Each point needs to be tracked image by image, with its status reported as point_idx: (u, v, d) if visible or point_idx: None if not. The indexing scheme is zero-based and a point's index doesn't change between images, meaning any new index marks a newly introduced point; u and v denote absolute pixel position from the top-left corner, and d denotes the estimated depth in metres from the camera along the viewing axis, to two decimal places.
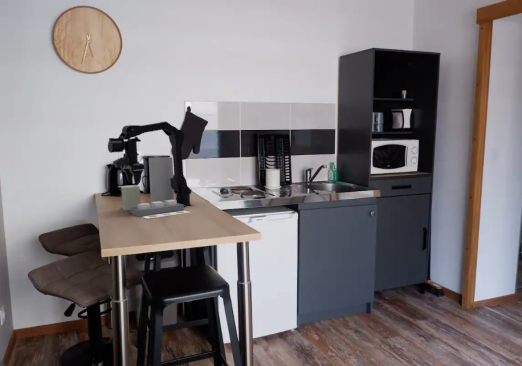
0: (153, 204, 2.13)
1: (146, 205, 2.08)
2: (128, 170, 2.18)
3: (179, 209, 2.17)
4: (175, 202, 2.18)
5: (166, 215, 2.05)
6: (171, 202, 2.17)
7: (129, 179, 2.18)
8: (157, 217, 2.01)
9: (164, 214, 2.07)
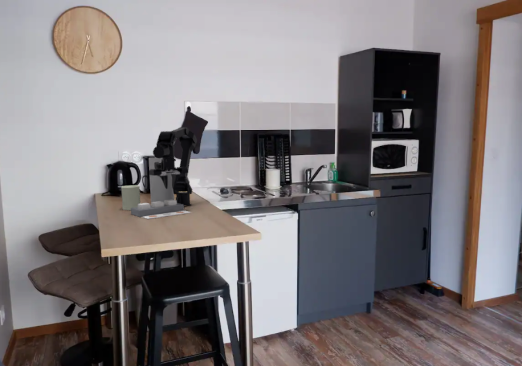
0: (153, 204, 2.13)
1: (146, 205, 2.08)
2: (173, 175, 2.19)
3: (179, 209, 2.17)
4: (175, 202, 2.18)
5: (166, 215, 2.05)
6: (171, 202, 2.17)
7: (172, 184, 2.19)
8: (157, 217, 2.01)
9: (164, 214, 2.07)
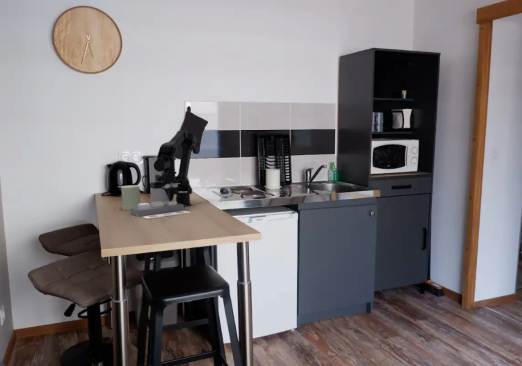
0: (153, 204, 2.13)
1: (146, 205, 2.08)
2: (170, 188, 2.19)
3: (179, 209, 2.17)
4: (175, 203, 2.18)
5: (166, 215, 2.05)
6: (171, 203, 2.17)
7: None
8: (157, 217, 2.01)
9: (164, 214, 2.07)
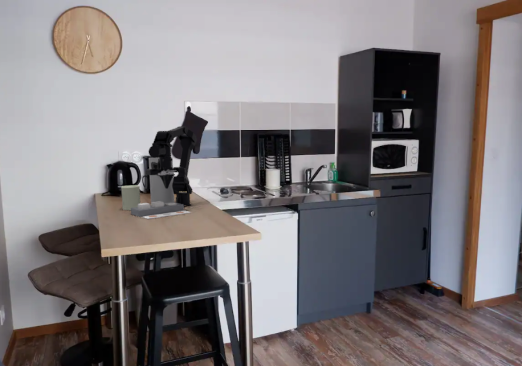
0: (153, 204, 2.13)
1: (146, 205, 2.08)
2: None
3: (179, 209, 2.17)
4: None
5: (166, 215, 2.05)
6: None
7: None
8: (157, 217, 2.01)
9: (164, 214, 2.07)
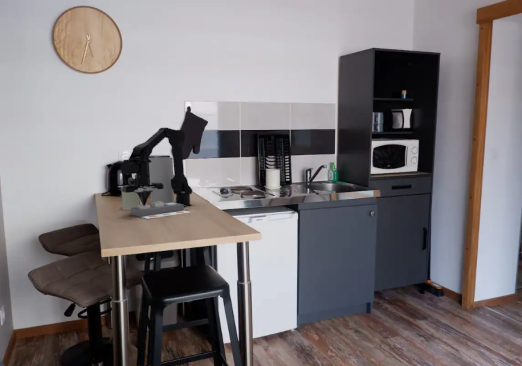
0: (153, 204, 2.13)
1: (146, 206, 2.09)
2: (144, 192, 2.10)
3: (179, 209, 2.17)
4: None
5: (166, 215, 2.05)
6: None
7: None
8: (157, 217, 2.01)
9: (164, 214, 2.07)
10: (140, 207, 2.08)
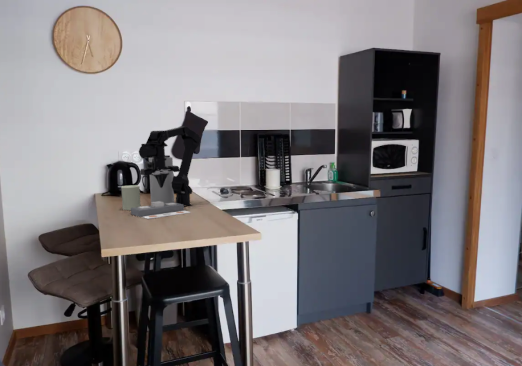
0: (153, 204, 2.13)
1: (146, 208, 2.09)
2: None
3: (179, 209, 2.17)
4: None
5: (166, 215, 2.05)
6: None
7: None
8: (157, 217, 2.01)
9: (164, 214, 2.07)
10: None
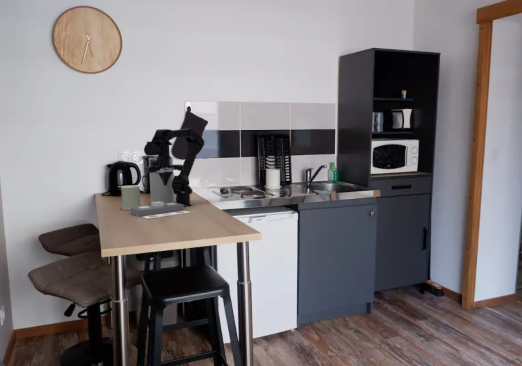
0: (153, 204, 2.13)
1: (146, 208, 2.09)
2: None
3: (179, 209, 2.17)
4: None
5: (166, 215, 2.05)
6: None
7: None
8: (157, 217, 2.01)
9: (164, 214, 2.07)
10: None
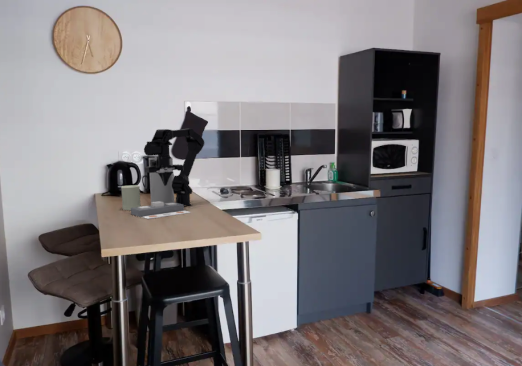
0: (153, 204, 2.13)
1: (146, 208, 2.09)
2: None
3: (179, 209, 2.17)
4: None
5: (166, 215, 2.05)
6: None
7: None
8: (157, 217, 2.01)
9: (164, 214, 2.07)
10: None
